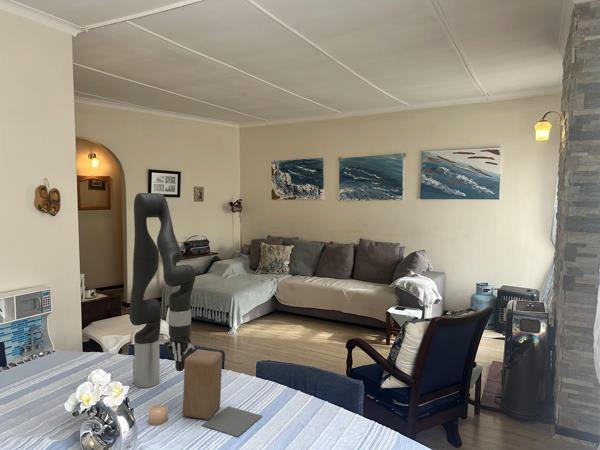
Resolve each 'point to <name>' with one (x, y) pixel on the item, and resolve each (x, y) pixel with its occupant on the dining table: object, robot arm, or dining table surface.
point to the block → (202, 384)
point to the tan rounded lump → (158, 414)
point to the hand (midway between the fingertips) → (180, 370)
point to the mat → (232, 421)
